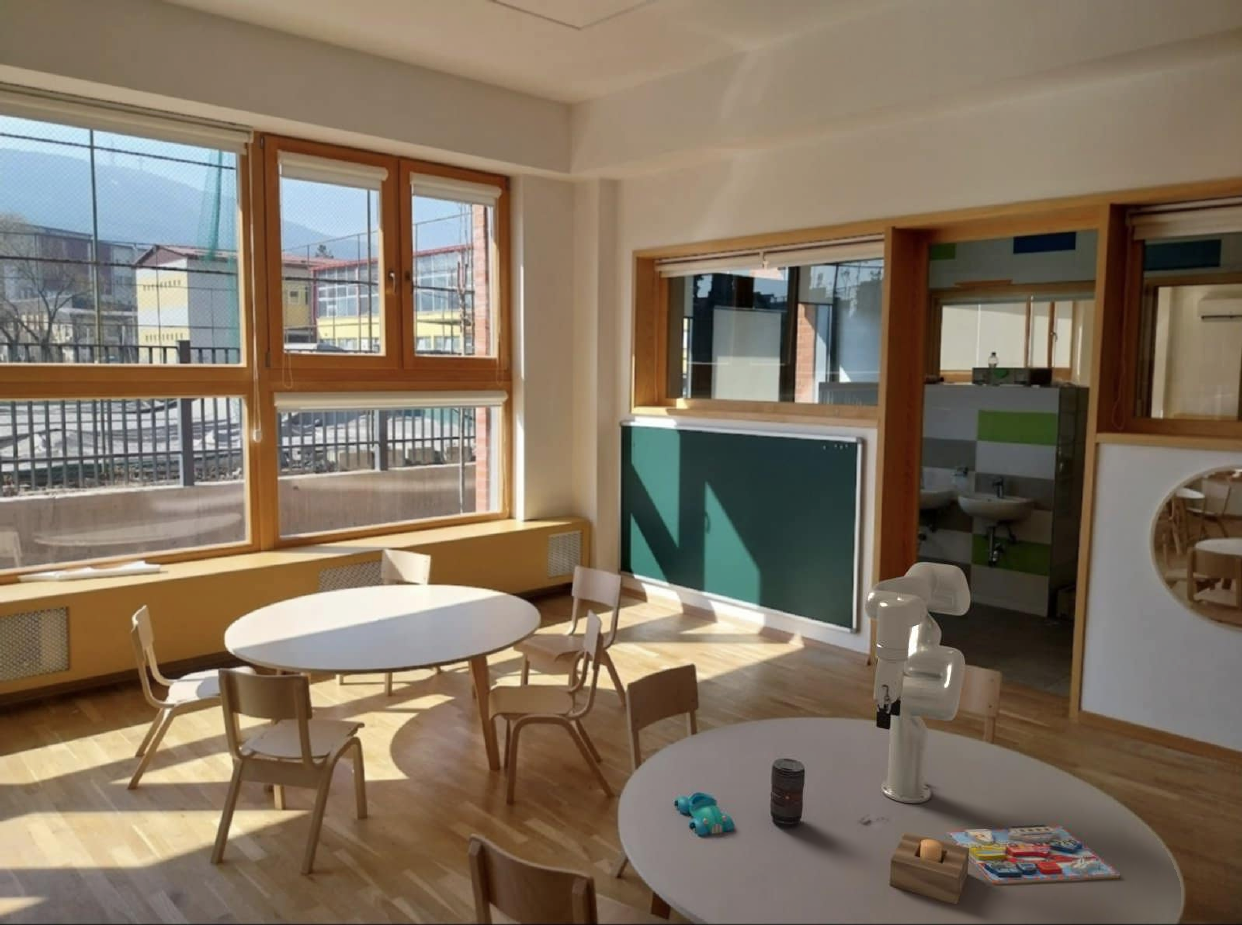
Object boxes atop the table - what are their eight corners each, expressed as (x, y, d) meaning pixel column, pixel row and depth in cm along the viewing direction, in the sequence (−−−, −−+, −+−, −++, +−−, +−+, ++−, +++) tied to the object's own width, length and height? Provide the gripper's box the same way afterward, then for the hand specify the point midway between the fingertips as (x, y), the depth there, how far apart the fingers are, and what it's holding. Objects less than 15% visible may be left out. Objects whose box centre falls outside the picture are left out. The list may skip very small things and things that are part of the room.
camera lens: (802, 831, 225) (805, 773, 224) (768, 828, 227) (771, 769, 225) (802, 816, 233) (805, 759, 232) (770, 812, 235) (772, 755, 233)
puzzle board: (1061, 829, 230) (1061, 819, 230) (1120, 881, 207) (1121, 869, 207) (944, 834, 227) (944, 824, 226) (991, 887, 204) (992, 876, 204)
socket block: (904, 856, 215) (905, 831, 214) (967, 873, 208) (969, 848, 208) (889, 885, 203) (891, 859, 202) (956, 904, 196) (958, 877, 195)
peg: (921, 871, 209) (923, 837, 208) (941, 876, 207) (943, 842, 206) (916, 880, 205) (919, 846, 204) (937, 886, 203) (939, 851, 202)
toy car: (696, 838, 222) (697, 812, 221) (669, 804, 239) (670, 779, 238) (737, 832, 225) (738, 806, 225) (708, 798, 242) (708, 774, 242)
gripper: (884, 640, 230) (881, 706, 232) (866, 659, 215) (863, 730, 217) (915, 645, 226) (912, 712, 228) (899, 664, 211) (895, 736, 213)
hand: (888, 721), depth 222 cm, fingers open, 9 cm apart
